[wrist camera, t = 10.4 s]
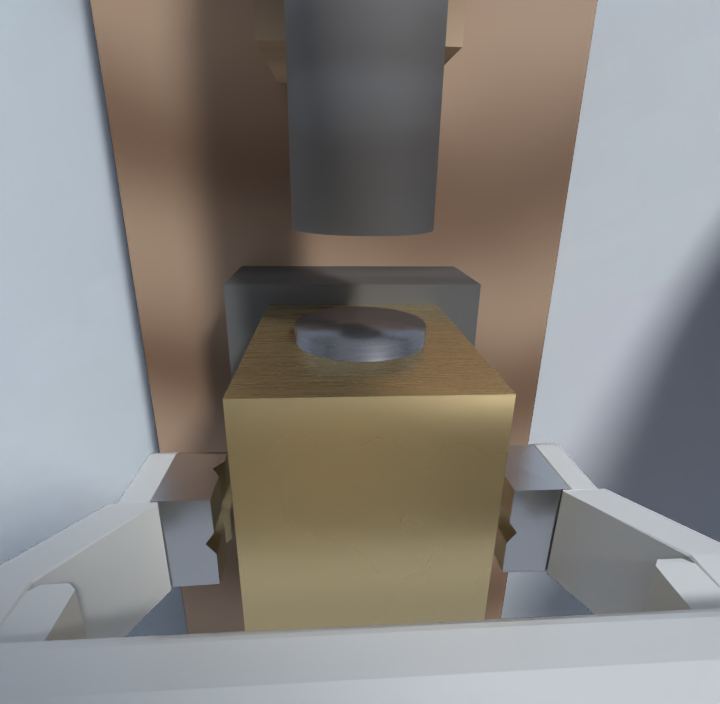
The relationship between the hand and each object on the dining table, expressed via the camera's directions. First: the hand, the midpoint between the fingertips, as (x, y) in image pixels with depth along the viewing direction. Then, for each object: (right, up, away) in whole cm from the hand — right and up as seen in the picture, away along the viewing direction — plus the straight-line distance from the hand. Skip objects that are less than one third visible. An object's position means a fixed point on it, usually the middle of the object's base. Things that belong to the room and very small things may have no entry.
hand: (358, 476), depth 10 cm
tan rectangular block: (0, +1, +2) cm, 3 cm away
